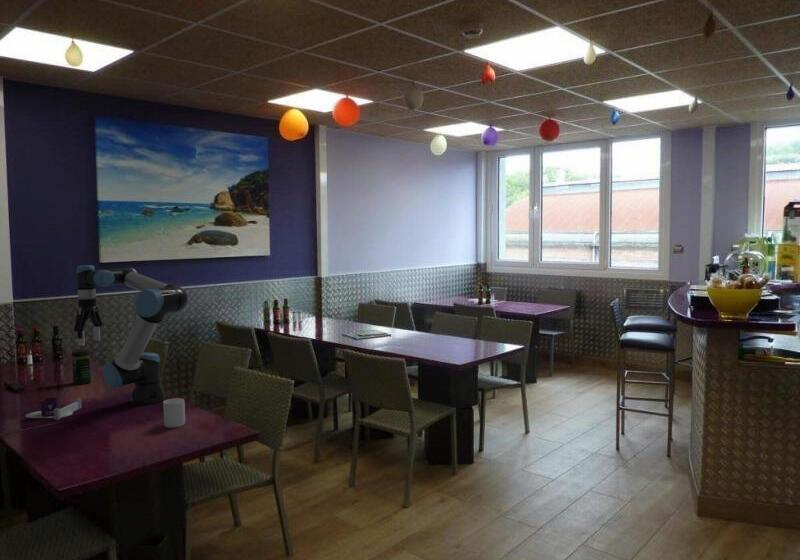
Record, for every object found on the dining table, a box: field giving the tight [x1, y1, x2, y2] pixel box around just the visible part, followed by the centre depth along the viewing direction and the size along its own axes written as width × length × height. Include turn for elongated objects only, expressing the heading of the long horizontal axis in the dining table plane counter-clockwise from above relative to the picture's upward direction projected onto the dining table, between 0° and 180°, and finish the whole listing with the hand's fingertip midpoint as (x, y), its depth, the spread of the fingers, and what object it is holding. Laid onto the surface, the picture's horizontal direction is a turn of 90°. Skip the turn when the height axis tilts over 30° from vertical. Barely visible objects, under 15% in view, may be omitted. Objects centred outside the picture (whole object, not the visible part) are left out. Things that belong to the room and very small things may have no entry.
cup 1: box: [40, 397, 60, 417], centre depth 265 cm, size 7×10×7 cm
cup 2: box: [162, 397, 186, 429], centre depth 251 cm, size 8×12×10 cm
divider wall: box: [53, 397, 82, 421], centre depth 266 cm, size 2×18×4 cm, turn 178°
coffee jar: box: [71, 348, 92, 385], centre depth 320 cm, size 10×8×19 cm
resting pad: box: [25, 410, 74, 419], centre depth 265 cm, size 20×9×1 cm, turn 87°
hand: (89, 342), depth 282 cm, fingers open, 13 cm apart
